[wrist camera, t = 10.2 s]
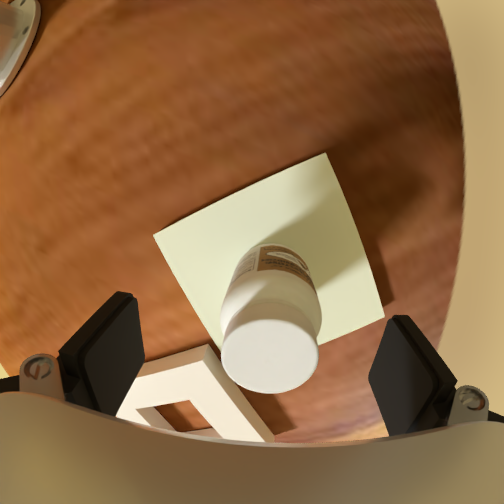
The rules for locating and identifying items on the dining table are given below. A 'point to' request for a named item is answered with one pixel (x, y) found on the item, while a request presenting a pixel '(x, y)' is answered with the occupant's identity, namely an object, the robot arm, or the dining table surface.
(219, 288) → the pad
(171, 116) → the dining table surface
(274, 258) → the pill bottle
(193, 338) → the dining table surface
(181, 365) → the collar
